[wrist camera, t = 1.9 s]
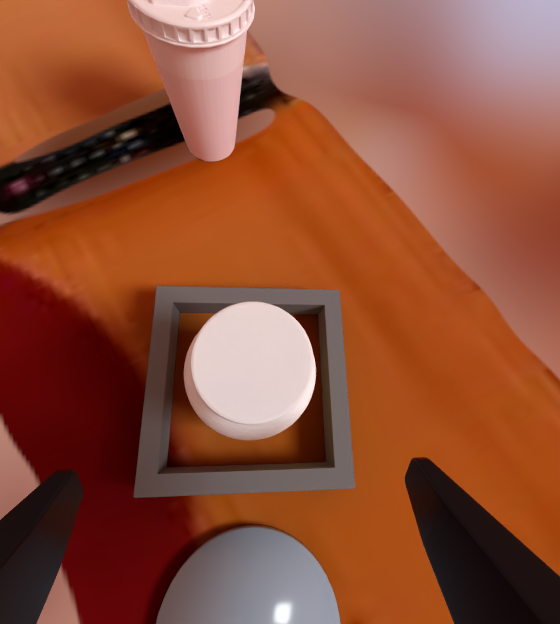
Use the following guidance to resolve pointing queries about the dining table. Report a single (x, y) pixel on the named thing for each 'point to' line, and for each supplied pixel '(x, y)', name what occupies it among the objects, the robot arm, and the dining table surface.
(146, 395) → the frame
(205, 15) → the smoothie
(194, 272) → the dining table surface
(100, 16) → the dining table surface
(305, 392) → the supplement bottle
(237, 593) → the coaster
